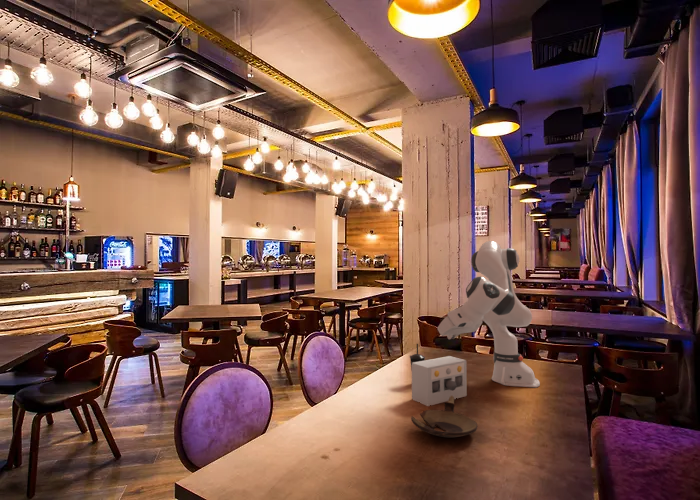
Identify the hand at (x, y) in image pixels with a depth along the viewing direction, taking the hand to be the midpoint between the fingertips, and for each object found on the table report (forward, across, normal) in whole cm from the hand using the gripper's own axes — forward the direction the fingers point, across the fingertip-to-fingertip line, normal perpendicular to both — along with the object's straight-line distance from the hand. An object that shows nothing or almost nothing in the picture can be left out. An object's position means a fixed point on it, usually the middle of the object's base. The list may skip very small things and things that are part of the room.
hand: (450, 337), depth 160 cm
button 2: (+22, -7, +12) cm, 26 cm away
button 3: (+24, 0, +10) cm, 26 cm away
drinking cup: (+44, -12, -3) cm, 46 cm away
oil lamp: (+11, +16, +31) cm, 37 cm away
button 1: (+24, -14, +10) cm, 29 cm away
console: (+30, -7, +11) cm, 33 cm away
